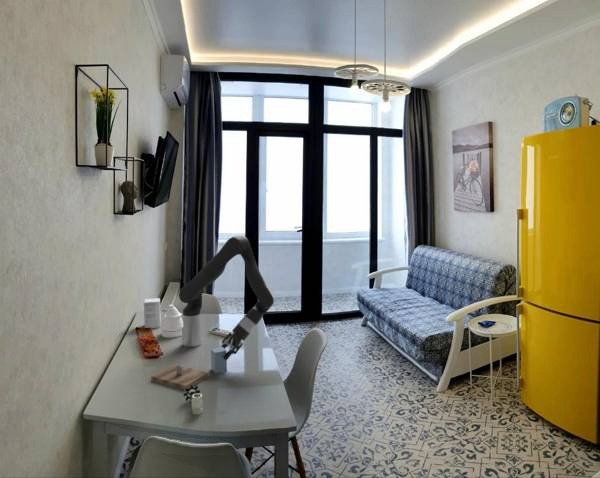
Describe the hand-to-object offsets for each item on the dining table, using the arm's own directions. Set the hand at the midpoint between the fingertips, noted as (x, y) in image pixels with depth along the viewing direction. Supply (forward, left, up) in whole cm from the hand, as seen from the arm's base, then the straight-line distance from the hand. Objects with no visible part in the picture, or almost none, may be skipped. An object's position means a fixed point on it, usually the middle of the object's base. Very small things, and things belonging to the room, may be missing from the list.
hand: (221, 355), depth 183 cm
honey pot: (-57, +27, -7) cm, 63 cm away
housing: (-1, -1, -7) cm, 7 cm away
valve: (+12, -32, -7) cm, 35 cm away
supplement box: (-79, +32, -7) cm, 85 cm away
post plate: (-11, -16, -7) cm, 20 cm away
